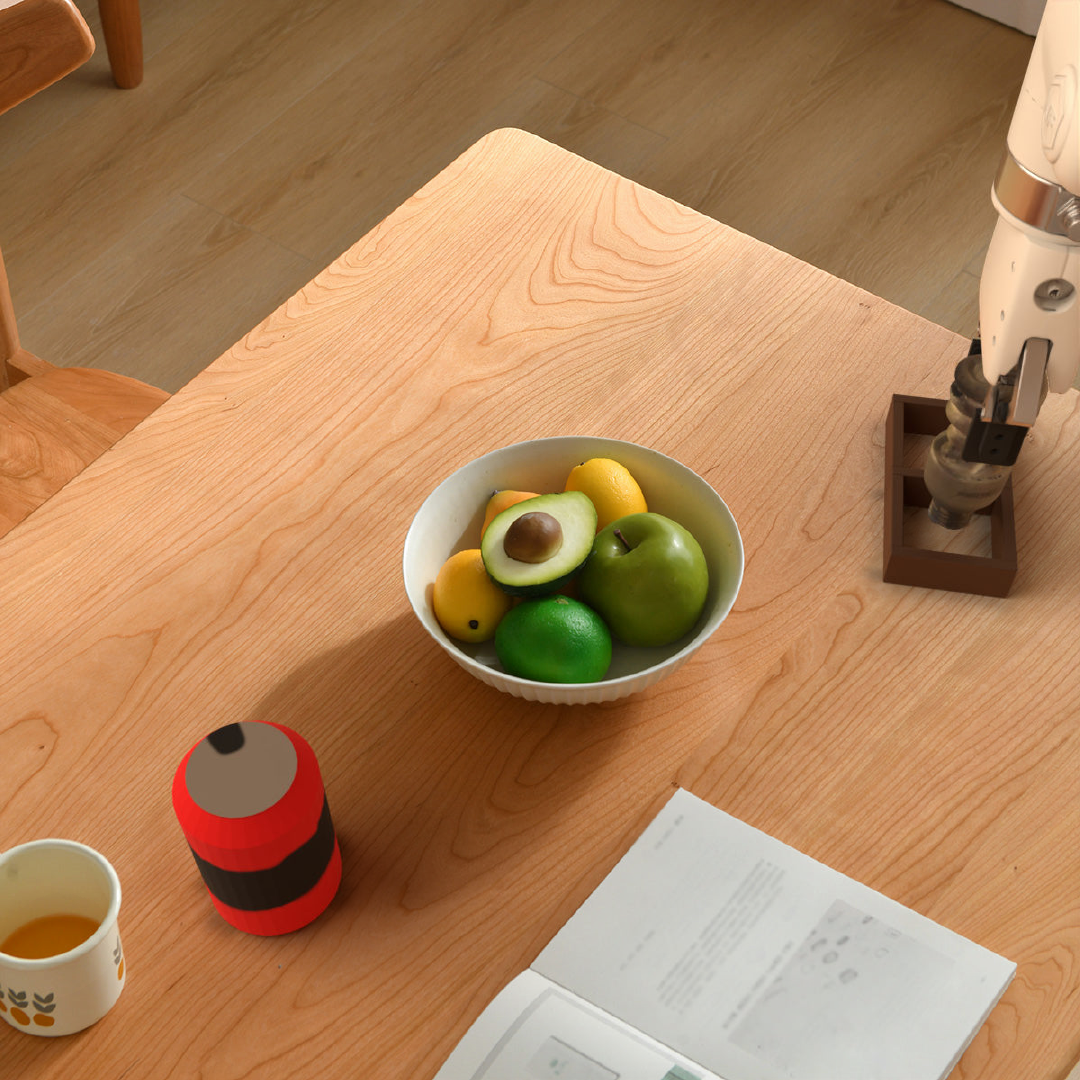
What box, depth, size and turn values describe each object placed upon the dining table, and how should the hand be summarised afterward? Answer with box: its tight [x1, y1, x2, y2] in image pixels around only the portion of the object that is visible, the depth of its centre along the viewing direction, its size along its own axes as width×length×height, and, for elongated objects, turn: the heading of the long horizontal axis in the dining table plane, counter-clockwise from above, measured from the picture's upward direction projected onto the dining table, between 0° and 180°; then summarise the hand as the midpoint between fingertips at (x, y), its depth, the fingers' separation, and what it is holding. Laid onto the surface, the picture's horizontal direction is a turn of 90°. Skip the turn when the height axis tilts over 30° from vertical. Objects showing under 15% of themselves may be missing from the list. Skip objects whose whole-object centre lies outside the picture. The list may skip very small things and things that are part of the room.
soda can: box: [171, 719, 343, 937], centre depth 73 cm, size 8×8×12 cm
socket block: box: [882, 393, 1019, 599], centre depth 95 cm, size 16×8×3 cm, turn 170°
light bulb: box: [923, 354, 1049, 531], centre depth 87 cm, size 6×6×15 cm
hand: (985, 423), depth 85 cm, fingers closed on light bulb, 5 cm apart
